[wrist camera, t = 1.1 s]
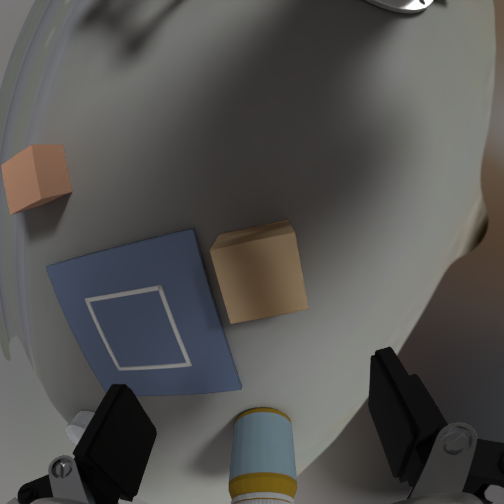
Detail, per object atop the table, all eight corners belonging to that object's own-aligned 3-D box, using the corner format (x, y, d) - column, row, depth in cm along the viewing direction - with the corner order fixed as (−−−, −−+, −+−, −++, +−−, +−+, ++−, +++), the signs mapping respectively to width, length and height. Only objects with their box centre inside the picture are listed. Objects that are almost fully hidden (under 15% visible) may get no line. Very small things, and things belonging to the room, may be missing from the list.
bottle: (252, 442, 33) (249, 536, 19) (224, 415, 31) (209, 520, 17) (300, 426, 32) (311, 526, 17) (274, 397, 30) (279, 512, 16)
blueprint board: (193, 227, 25) (192, 229, 24) (241, 385, 30) (241, 390, 29) (48, 265, 26) (44, 267, 25) (109, 392, 31) (107, 395, 30)
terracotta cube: (63, 144, 23) (31, 144, 18) (72, 191, 24) (41, 198, 19) (32, 162, 23) (1, 165, 18) (41, 205, 24) (10, 214, 20)
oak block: (288, 219, 24) (295, 232, 20) (300, 283, 26) (308, 309, 21) (219, 233, 25) (209, 250, 20) (235, 296, 27) (230, 323, 22)
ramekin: (130, 448, 35) (122, 467, 31) (85, 433, 35) (76, 451, 31) (117, 415, 33) (107, 436, 29) (68, 400, 33) (56, 418, 29)
